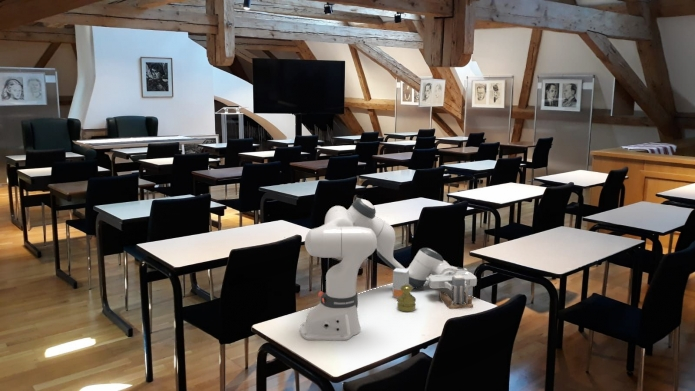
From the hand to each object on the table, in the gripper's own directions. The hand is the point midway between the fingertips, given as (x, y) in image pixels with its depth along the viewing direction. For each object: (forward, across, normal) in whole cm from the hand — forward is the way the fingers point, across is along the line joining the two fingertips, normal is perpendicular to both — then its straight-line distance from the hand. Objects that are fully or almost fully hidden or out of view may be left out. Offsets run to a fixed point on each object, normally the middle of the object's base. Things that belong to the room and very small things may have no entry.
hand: (458, 287), depth 232 cm
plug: (0, 0, +6) cm, 6 cm away
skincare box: (-13, -21, +8) cm, 26 cm away
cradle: (-3, 0, +7) cm, 8 cm away
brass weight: (0, -22, +8) cm, 23 cm away
